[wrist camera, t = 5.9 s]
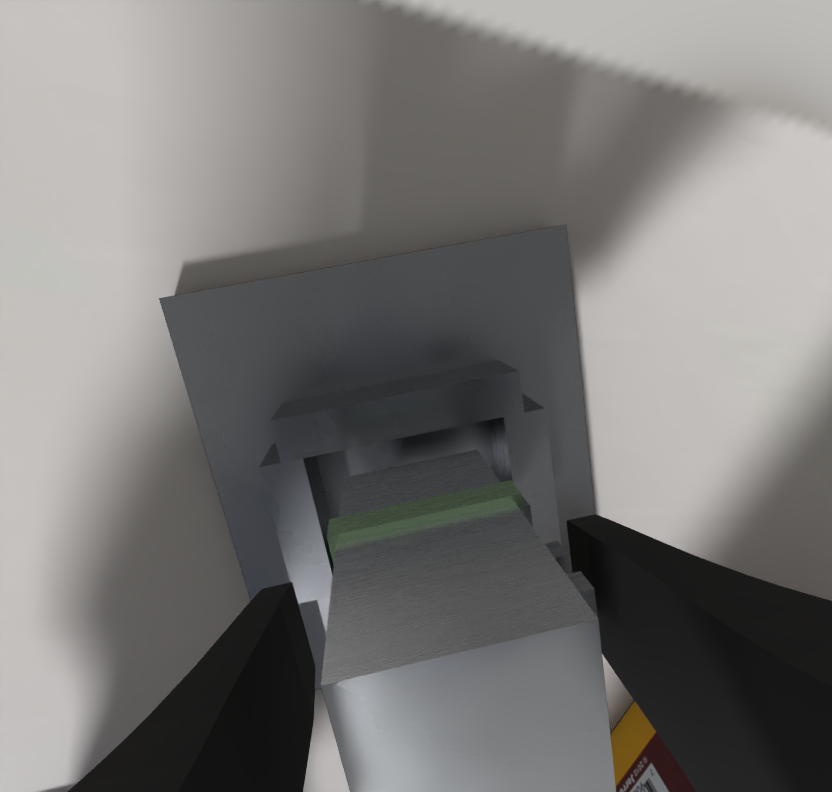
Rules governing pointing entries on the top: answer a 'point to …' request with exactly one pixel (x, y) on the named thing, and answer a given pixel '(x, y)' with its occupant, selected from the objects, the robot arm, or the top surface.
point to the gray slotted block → (459, 640)
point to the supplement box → (644, 758)
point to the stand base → (383, 392)
